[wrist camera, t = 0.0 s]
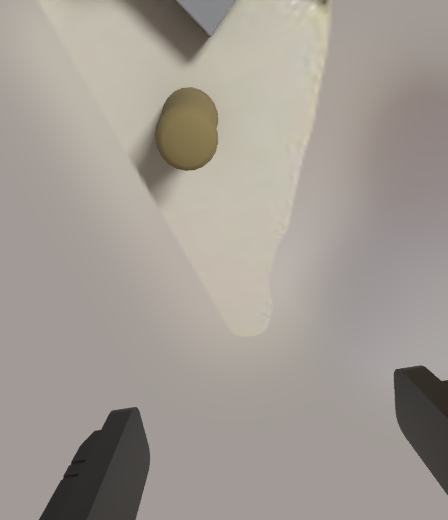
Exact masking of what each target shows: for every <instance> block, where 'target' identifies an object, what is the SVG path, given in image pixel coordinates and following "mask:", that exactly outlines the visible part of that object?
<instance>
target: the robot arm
mask: <svg viewBox="0 0 448 520" xmlns="http://www.w3.org/2000/svg"><path fill="white" fill-rule="evenodd" d="M394 389H395V409H396V417H397V421H398V423H399V426H400V428H401V430H402V432H403V434H404V436H405V437H406V439H407V440H408V441H409V443H410V444H411V445H412V447H413V448H414V450H415V451H416V452H417V453H418V455H419V456H420V458H421V459H422V460H423V462H424V463H425V465H426V466H427V467H428V469H429V470H430V471H431V473H432V474H433V476H434V477H435V478H436V480H437V481H438V482H439V484H440V485H441V487H442V488H443V489H444V491H445V492H446V493H447V495H448V380H447V381H441V380H439V379H438V378H437V377H436V376H435V375H434V374H433V373H432V372H430V371H429V370H428V369H427V368H426V367H424V366H414V367H408V368H401V369H396V370H395V372H394ZM149 465H150V452H149V445H148V442H147V438H146V434H145V431H144V427H143V423H142V420H141V416H140V412H139V410H138V408H137V407H133V408H126V409H119V410H113V411H111V412H110V414H109V416H108V418H107V420H106V422H105V423H104V425H103V427H102V430H98V431H94V432H93V433H92V434H91V435H90V436H89V437H88V439H86V440H85V441H84V442H83V444H82V445H81V446H80V447H79V449H78V451H77V453H76V455H75V456H74V458H73V460H72V462H71V465H70V466H69V467H68V469H67V471H66V473H65V474H64V478H63V480H61V482H60V483H59V485H58V487H57V489H56V490H55V492H54V494H53V496H52V498H51V499H50V501H49V503H48V505H47V507H46V508H45V510H44V512H43V514H42V515H41V517H40V519H39V520H135V519H136V516H137V512H138V508H139V504H140V501H141V497H142V493H143V490H144V486H145V482H146V479H147V475H148V471H149Z"/></svg>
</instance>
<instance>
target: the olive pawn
mask: <svg viewBox="0 0 448 520" xmlns="http://www.w3.org/2000/svg"><path fill="white" fill-rule="evenodd" d="M217 124H218V113H217V110H216V107H215V104H214V102H213V101H212V100H211V98H210V97H209V96H208V95H207V94H205V93H204V92H203V91H201V90H199V89H195V88H192V87H191V88H182V89H179V90H177V91H175V92H174V93H173V94H172V95H171V96H170V97H169V98H168V99H167V101H166V103H165V105H164V107H163V114H162V117H161V118H160V120H159V122H158V124H157V127H156V135H155V138H156V144H157V148H158V150H159V152H160V154H161V156H162V157H163V158H164V159H165V160H166V161H167V162H168V164H170V165H172V166H173V167H175V168H177V169H181V170H185V171H187V170H196V169H198V168H201V167H203V166H204V165H205V164H207V163H208V162H209V161H210V160H211V159H212V157H213V155H214V154H215V152H216V148H217V144H218V134H217V129H216V128H217Z"/></svg>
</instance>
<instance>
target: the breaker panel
mask: <svg viewBox="0 0 448 520" xmlns="http://www.w3.org/2000/svg"><path fill="white" fill-rule="evenodd" d="M175 1H176V2H177V3H178V4H179V5H180V6H181V7H182V8H183V9H184V10H185V11H186V12H187V14H188V15H189V16H190V17H191V18H192V19H193V20H194V21H195V22H196V23H197V24H198V25H199V26H200V27H201V28H202V29H203V30H204V31H205V32H206V33H207V34H208V35H209V36H211V35H212V33H213V32H214V30H215V29H216V27H217V26H218V24H219V23H220V22H221V20H222V19H223V17H224V16H225V14H226V13H227V11H228V10H229V8H230V7H231V5H232V4H233V3H234V1H235V0H175Z"/></svg>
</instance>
